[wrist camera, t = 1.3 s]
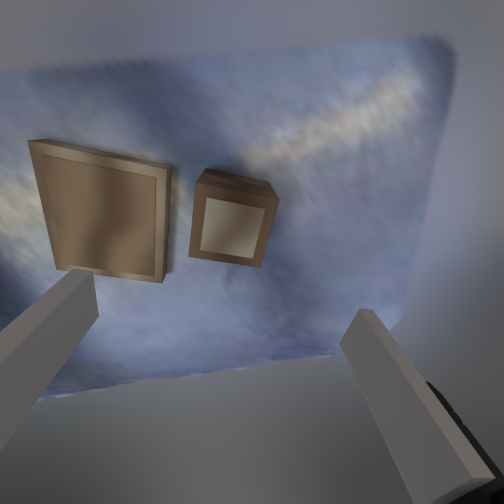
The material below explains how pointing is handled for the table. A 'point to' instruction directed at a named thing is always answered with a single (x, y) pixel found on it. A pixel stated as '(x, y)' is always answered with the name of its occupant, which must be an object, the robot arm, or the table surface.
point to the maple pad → (104, 210)
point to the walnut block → (231, 218)
